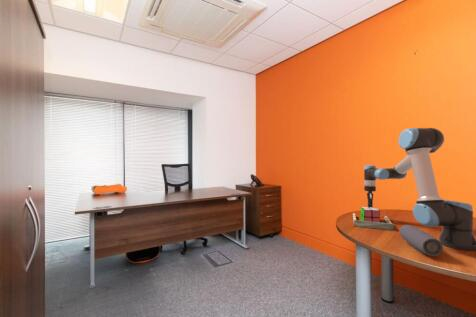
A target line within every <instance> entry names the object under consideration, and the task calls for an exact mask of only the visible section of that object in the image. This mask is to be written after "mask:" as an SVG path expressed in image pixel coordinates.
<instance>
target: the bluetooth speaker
mask: <svg viewBox="0 0 476 317" xmlns="http://www.w3.org/2000/svg"><path fill="white" fill-rule="evenodd" d="M398 232H399V236H400V237H401V238H402V239H403V240H405V242H407V243H408V244H410V245H411V247H412V248H413V249H415V250H416V251H417V252H419V253H420V254H425V255H428V256H430V257H437V256H440V255H441V254H442V253H443V250H444V245H443V244H441V242H440V241H439V239H437V238H436V237H434V236H432V235H431V234H429V233H427V232H426V231H424V230H422V229H420V228H419V227H416V226H414V225H410V224H403V225H402V226H401V227H400V228H399V230H398Z"/></svg>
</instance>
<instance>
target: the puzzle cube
mask: <svg viewBox="0 0 476 317" xmlns="http://www.w3.org/2000/svg"><path fill="white" fill-rule="evenodd" d="M360 221H370V222H381V210H379V209H378V208H377V207H369V208H368V206H365V207H364V206H361V207H360Z"/></svg>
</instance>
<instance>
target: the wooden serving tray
mask: <svg viewBox="0 0 476 317" xmlns="http://www.w3.org/2000/svg"><path fill="white" fill-rule="evenodd" d="M352 219H353V227H355V226H356V227H357V228H364V227H365V228H366V229H376V230H377V229H378V230H385V231H386V230H387V231H395V223H392V221H391V220H390V218H389V217H388V216H387V215H384V217H383V219H384V220H385V222H381V221H380V222H370V221H361V220H360V219H359V220H358V219H357V216H356V213H355V212H352ZM356 227H355V228H356Z"/></svg>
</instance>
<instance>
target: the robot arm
mask: <svg viewBox="0 0 476 317" xmlns="http://www.w3.org/2000/svg"><path fill="white" fill-rule="evenodd" d="M444 143H445V136H444V134H443V132H442V131H441V130H440V129H437V128H435V127H411V128H405V129H404V130H403V131H401V132H400V134H399V137H398V146H399V147H400V148H401V149H403V150H405V154H406V156H404V158H403V159H402V160H401V161H400V162H398V163H397V164H395V166H394V167H388V168H384V167H382V168H379V167H378V168H377V167H376V165H375V164H367V165H364V167H363V168H364V169H363V173H364V174H363V175H364V176H363V177H364V178H363V183H364V188H363V190H364V191H365V192H367V193H366V197H367V207H368V208H369V207H373V203H374V202H373V200H374V193H373V192H376V191H377V189H376V188H377V180H382V181H383V180H400V179H405V178H406V177H407V175H408V172H409V171H410V170H412V172H413V177H414V180H415V186H416V190H417V194H418V198H417V199H416V200H415V202H416V204H415V205H414V206H413V208H412V214H413V217H414V219H415V220H416V221H417V222H418V223H419V224H420V225H422V226H425V227H430V228H431V227H434V228H435V227H442V229H441V232H440V234H439V237H438V240H439V241H440V242H441V244H442V246H445V247H448V248H452V249H458V250H463V251H476V237H475V234H474V209H473V208H474V207H473V205H472V204H470V203H467V202H461V201H455V200H448V199H443V198H442V197H441V196H440V195H439V190H438V186H437V182H436V178H435V177H436V176H435V172H434V168H433V165H432V160H431V156H430V154H434V153H436V151H438V150H439V149H440V148H441V147H442V146H443V144H444ZM373 208H374V207H373Z"/></svg>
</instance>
